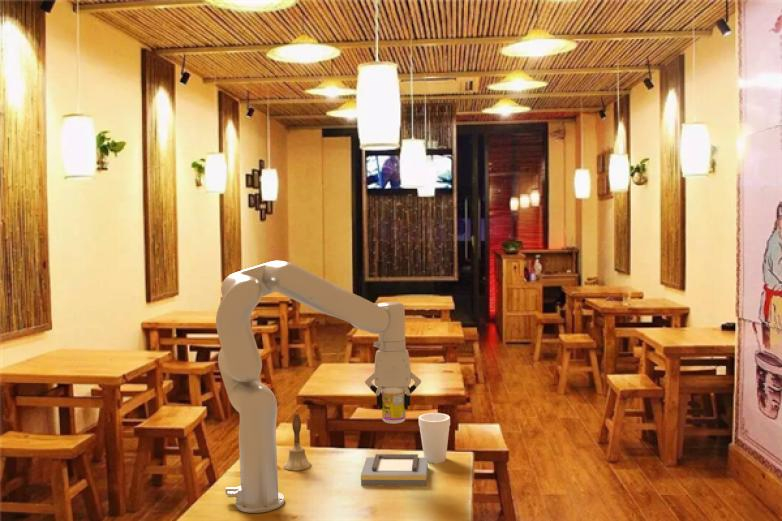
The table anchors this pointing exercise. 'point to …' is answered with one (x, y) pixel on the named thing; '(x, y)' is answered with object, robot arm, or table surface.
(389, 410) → the supplement bottle
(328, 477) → the table surface
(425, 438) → the foam cup
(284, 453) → the table surface
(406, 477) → the loading dock
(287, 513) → the table surface
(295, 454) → the hand bell
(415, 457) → the bay rails
